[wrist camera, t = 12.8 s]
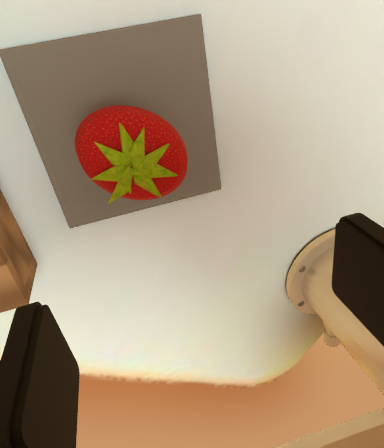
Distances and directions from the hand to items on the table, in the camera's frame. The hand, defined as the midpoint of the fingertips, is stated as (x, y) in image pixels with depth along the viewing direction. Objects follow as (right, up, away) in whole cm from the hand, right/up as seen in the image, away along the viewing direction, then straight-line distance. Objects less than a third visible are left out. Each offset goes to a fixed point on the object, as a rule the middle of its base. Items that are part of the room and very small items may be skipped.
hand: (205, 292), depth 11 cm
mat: (-6, +10, +17) cm, 20 cm away
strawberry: (-5, +10, +16) cm, 20 cm away
